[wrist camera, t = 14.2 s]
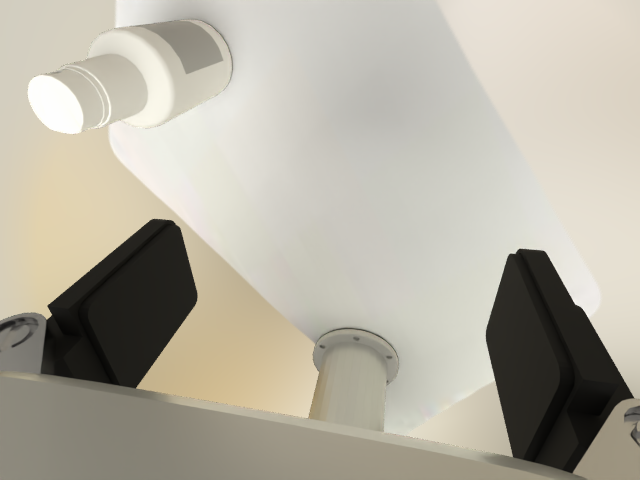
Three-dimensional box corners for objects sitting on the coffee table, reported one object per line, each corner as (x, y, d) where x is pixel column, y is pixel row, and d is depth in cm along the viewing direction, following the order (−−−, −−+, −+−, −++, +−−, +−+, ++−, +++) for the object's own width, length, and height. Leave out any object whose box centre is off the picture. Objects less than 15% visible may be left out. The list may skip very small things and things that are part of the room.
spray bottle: (224, 15, 33) (78, 33, 19) (240, 94, 37) (128, 162, 22) (157, 22, 35) (-27, 44, 20) (179, 98, 38) (37, 163, 24)
